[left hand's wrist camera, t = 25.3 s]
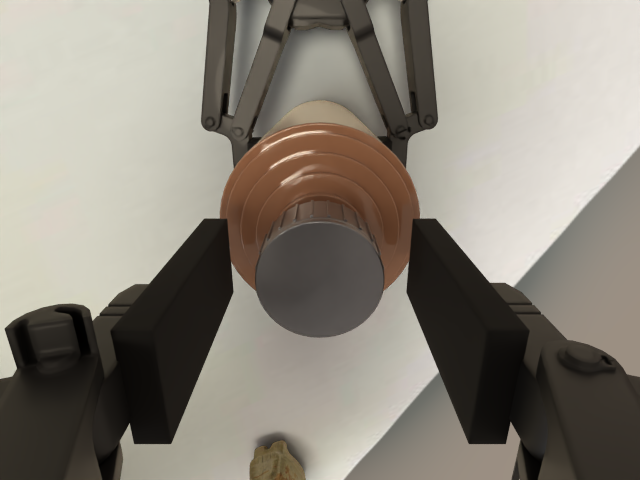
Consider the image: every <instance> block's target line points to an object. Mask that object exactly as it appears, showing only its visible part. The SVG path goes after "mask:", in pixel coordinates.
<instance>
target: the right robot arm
mask: <svg viewBox="0 0 640 480" xmlns="http://www.w3.org/2000/svg"><path fill="white" fill-rule="evenodd" d="M240 1H241V0H209V3H210V5H209V19H208V32H207V46H206V60H205V74H204V88H203V102H202V115H201V123H202V126H203V128H204V129H206V130H207V131H214V132H217V133H219V134H222V135H225V136H226V137H228V138H229V140H230V141H231V144H232V152H233V164H234V168H235V166H236V165H237V163H238V162H239V161H240V160H241V158H242V157H243V156H244V155H245V154H246V153H247V152H248V151H249V150H250V149H251V148H252V147H253V146H254V145H255V144H256V143H257V142H258V141H259V140H260V139H261V138H262V137H253V138H252V133H253V131H254V130H253V129H254V126H255V123H256V121H257V118H258V115H259V113H260V110H261V107H262V105H263V102H264V99H265V97H266V94H267V91H268V89H269V86H270V83H271V81H272V78H273V75H274V72H275V70H276V67H277V64H278V62H279V59H280V56H281V54H282V51H283V48H284V46H285V44H286V42H287V40H288V37H289V34H290V32H291V29H292V28H294V29H295V30H308V29H312V28H315V27H323V28H326V29H330V30H342V29H343V28H345V27H346V29H347V32H348V35H349V37H350V39H351V42H352V43H353V45H354V48H355V50H356V53H357V55H358V58H359V61H360V63H361V66H362V68H363V71H364V73H365V76H366V78H367V81H368V83H369V86H370V89H371V91H372V94H373V96H374V99H375V101H376V104H377V106H378V109H379V111H380V114H381V117H382V119H383V122H384V124H385V127H386V129H387V137H386V136H376V137H377V138H378V139H379V140H381V141H382V142H383V143H384V144H385V145H386V146H387V147H388V148H389V149H390V150H391V151H392V152H393V153H394V154H395V155H396V156H397V158H398V159H399V160H400V161H401V163H402V164H403V165H404V167H405V168H406V159H407V144H408V140H409V138H410V137H411V136H412V135H413V134H415V133H418V132H420V131H423V130H426V129H432V128H434V127H435V126H436V124H437V122H438V114H437V103H436V92H435V81H434V69H433V58H432V47H431V36H430V25H429V14H428V2H427V1H428V0H399V1H401V24H402V33H403V42H404V51H405V60H406V69H407V78H408V87H409V96H410V105H411V113H409V114H406V115H405V113H404V111H403V108H402V105H401V103H400V100H399V97H398V95H397V92H396V89H395V87H394V84H393V81H392V79H391V76H390V73H389V71H388V68H387V65H386V62H385V60H384V57H383V54H382V52H381V49H380V46H379V44H378V41H377V38H376V36H375V33H374V28H373V24H372V21H371V19H370V16H369V13H368V10H367V8H366V3H367V2H368V0H268V1H269V2H270V4H271V5H272V6H271V9H270V12H269V15H268V17H267V20H266V23H265V26H264V31H263V36H262V38H261V41H260V44H259V47H258V50H257V53H256V56H255V58H254V61H253V64H252V67H251V70H250V73H249V75H248V78H247V81H246V84H245V87H244V90H243V92H242V95H241V98H240V101H239V104H238V107H237V109H236V112H235V115H234V116H231V115H228V105H229V95H230V84H231V73H232V63H233V52H234V41H235V31H236V18H237V11H236V3H237V2H240Z"/></svg>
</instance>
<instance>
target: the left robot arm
mask: <svg viewBox="0 0 640 480" xmlns="http://www.w3.org/2000/svg"><path fill="white" fill-rule="evenodd" d="M232 294H233V281H232V269H231V257H230V245H229V233H228V221H227V219H204V220H203V221H202V222H201V223H200V224H199V226H198V227H197V228H196V229H195V230H194V232H193V233H192V234H191V235H190V236H189V238H188V239H187V240H186V241H185V242H184V243H183V245H182V246H181V247H180V248H179V249H178V251H177V252H176V253H175V254H174V255H173V256H172V258H171V259H170V260H169V261H168V262H167V264H166V265H165V266H164V267H163V268H162V270H161V271H160V272H159V273H158V274H157V275H156V277H155V278H154V279H153V280H152V281H151V283H150V284H135V285H133V286H131V287H130V288H128V289H126V290H124V291H123V292H121V293H119V294H118V295H117V296H116V297H115V298H114V299H113V300H112V301H111V302H110V303H109V304H108V307H106V308H105V309H104V310H103V311H102V312H101V313H100V316H97V317H96V318H95V319H94V320H93V321H92V317H91V313H90V310H89V309H88V308H86V307H85V306H84V305H78V304H58V305H53V306H48V307H43V308H40V309H37V310H35V311H32V312H29V313H26V314H24V315H23V316H21V317H19V318H17V319H15V320H14V321H12V322H11V323H10V324H9V325H8V326H7V327H6V328H5V332H6V335H7V338H8V341H9V344H10V347H11V350H12V354H13V357H14V360H15V363H16V366H17V370H16V372H15V373H14V375H13V377H8V378H3V379H0V480H120V477H121V470H122V463H123V455H122V449H121V444H120V439H121V437H122V436H123V434H124V432H125V430H126V429H127V427H128V425H129V423H130V426H131V431H132V436H133V441H134V444H171V443H172V441H173V438H174V436H175V433H176V431H177V428H178V426H179V423H180V421H181V419H182V416H183V414H184V411H185V409H186V406H187V404H188V402H189V399H190V397H191V394H192V392H193V389H194V387H195V385H196V382H197V380H198V377H199V375H200V372H201V370H202V367H203V365H204V363H205V360H206V358H207V355H208V353H209V350H210V348H211V346H212V343H213V341H214V338H215V336H216V333H217V331H218V329H219V326H220V324H221V321H222V319H223V316H224V314H225V312H226V309H227V307H228V304H229V302H230V299H231V297H232ZM407 294H408V297H409V299H410V302H411V304H412V307H413V309H414V312H415V314H416V316H417V319H418V321H419V324H420V326H421V329H422V331H423V333H424V336H425V338H426V341H427V343H428V346H429V348H430V350H431V353H432V355H433V358H434V360H435V363H436V365H437V368H438V370H439V372H440V375H441V377H442V380H443V382H444V385H445V387H446V389H447V392H448V394H449V397H450V399H451V402H452V404H453V406H454V409H455V411H456V414H457V416H458V419H459V421H460V423H461V426H462V428H463V431H464V433H465V436H466V438H467V440H468V443H469V444H506V440H507V436H508V431H509V426H510V422H511V423H512V425H513V426H514V428H515V430H516V432H517V433H518V435H519V437H520V439H521V440H520V444H519V449H518V453H517V458H516V462H515V466H514V471H513V475H512V480H519V479H520V480H640V377H637V376H631V375H627V374H626V373H625V371H624V369H623V367H622V366H621V365H620V364H619V363H618V362H617V361H616V359H614V358H613V357H611V356H610V355H608V354H607V353H605V352H604V351H602V350H600V349H597V348H595V347H593V346H590V345H588V344H584V343H580V342H576V341H570V340H567V339H566V338H565V337H564V336H563V335H562V334H561V333H560V332H559V331H558V330H557V329H556V328H555V327H554V326H553V324H551V322H550V321H549V320H548V319H547V318H546V317H545V316H544V315H541V312H540V311H539V310H538V309H537V308H536V307H535V306H534V305H532V303H531V301H529V299H528V298H527V297H526V296H525V295H524V294H523V293H522V292H520V291H518V290H517V289H515V288H513V287H511V286H510V285H508V284H506V283H489V281H488V280H487V279H486V278H485V277H484V275H483V274H482V273H481V272H480V271H479V270H478V268H477V267H476V266H475V265H474V264H473V262H472V261H471V260H470V259H469V258H468V256H467V255H466V254H465V253H464V252H463V251H462V249H461V248H460V247H459V246H458V245H457V243H456V242H455V241H454V240H453V239H452V238H451V236H450V235H449V234H448V233H447V232H446V230H445V229H444V228H443V227H442V226H441V224H440V223H439V222H438V221H437V220H436V219H413V221H412V233H411V245H410V257H409V269H408V281H407Z"/></svg>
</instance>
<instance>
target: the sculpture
mask: <svg viewBox="0 0 640 480" xmlns="http://www.w3.org/2000/svg"><path fill="white" fill-rule="evenodd" d="M250 480H306V478H305V473H304V471H303V469H302V467H301V465H300V464H299V463H298V461H297V460H296V459H295V458H294V457H292V456H291V455H290V453H289V452H288V450H287V444H286V443H285V441H283V440H281V441H277V442H274V443H273V444H272V446H271V447H270V448H269V449H268V447H267V446H261V447H258V448H256V449H255V452H254V459H253V460H252V461H251V463H250Z"/></svg>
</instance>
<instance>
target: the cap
mask: <svg viewBox="0 0 640 480" xmlns="http://www.w3.org/2000/svg"><path fill="white" fill-rule="evenodd" d="M380 255H381V252H380V249H379V247H378V244H377V241H376V238H375V235H374V234H373V235H372V233H371V231H370V228H369V225H368V223H367V222H366V223H365V222H364V220H363V219H362V218H361V217H360V216H359V215H358V212H354V211H352V210H351V209H349V208H347V207H345V205H344V204H342V205H340V204H337V203H333V202H329V200H327V201H314V200H311V202H306V203H303V204H296V206H295V207H293V208H291V209H289V210H287V211H286V212H285V211H283V212H282V215H281V216H280V217H279V218H278V219H277V220H276V221H275V222H274V221H273V222H272V224H271V227H270V230H269V232H268V234H265V237H264V240H263V242H262V245H261V248H260V251H259V258H258V261H257V263H256V266H255V269H256V272H255V286H256V291H257V295H258V298H259V300H260V303H261V305H262V306H263V308H264V309H265V311H266V312H267V313H268V315H269V316H270V317H271V318H272V319H273V320H274V321H275V322H276V323H278V324H279V325H280V326H282V327H284V328H285V329H287V330H289V331H291V332H294V333H296V334H299V335H303V336H308V337H319V338H320V337H331V336H337V335H340V334H343V333H346V332H348V331H351V330H352V329H354V328H356V327H358V326H359V325H360V324H362V323H363V322H364V321H365V320H366V319H367V318H369V316H370V315H371V314H372V313H373V312H374V310H375V309H376V307H377V305H378V304H379V301H380V299H381V297H382V293H383V290H384V265H383V262H382V260H381V257H380Z"/></svg>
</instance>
